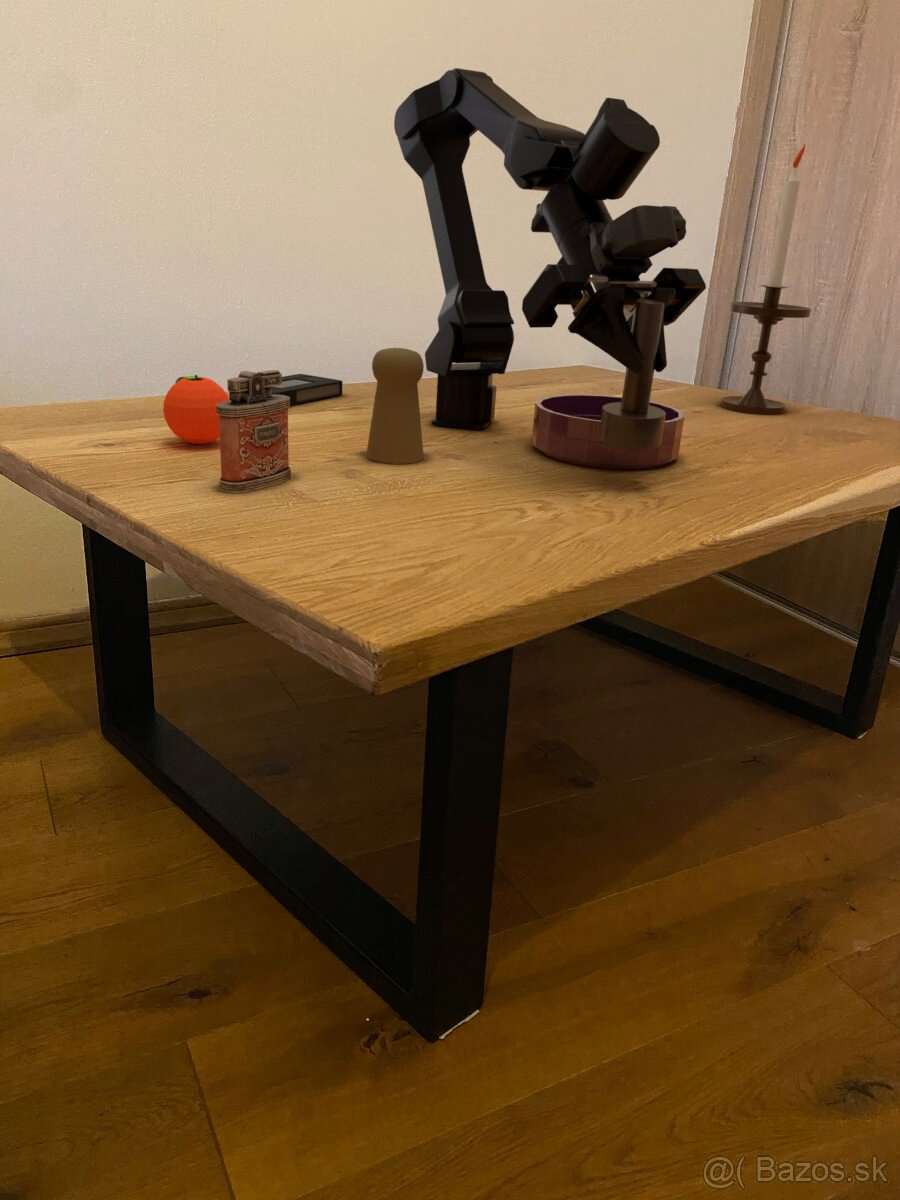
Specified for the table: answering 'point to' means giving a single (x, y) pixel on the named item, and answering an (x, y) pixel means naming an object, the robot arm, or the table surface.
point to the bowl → (597, 433)
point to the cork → (396, 408)
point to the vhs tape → (307, 388)
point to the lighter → (253, 433)
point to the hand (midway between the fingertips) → (651, 369)
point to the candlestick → (770, 307)
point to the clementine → (194, 409)
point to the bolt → (637, 389)
